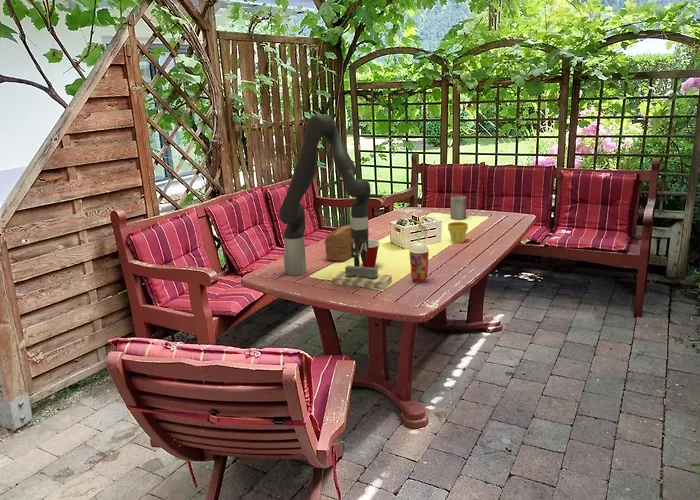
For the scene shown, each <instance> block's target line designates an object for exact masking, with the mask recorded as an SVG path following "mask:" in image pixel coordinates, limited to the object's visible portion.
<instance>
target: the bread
mask: <svg viewBox="0 0 700 500" xmlns="http://www.w3.org/2000/svg"><path fill="white" fill-rule="evenodd" d="M354 242H355V240H354V239H353V238H351V224H346V225H342V226H339V227H338V228H337V229H335V230H333V231H331V232H330V233H329V234H328V235H327V236H326V238H325V239H324V245H325V254H326V259H327V260H329V261H332V262H333V261H335V262H341V261H346V260H348V259H349V258H350V257H351V244H354ZM353 254H354V252H353ZM351 258H352V257H351Z"/></svg>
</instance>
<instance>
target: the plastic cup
mask: <svg viewBox="0 0 700 500" xmlns="http://www.w3.org/2000/svg"><path fill="white" fill-rule="evenodd" d="M380 244H381V243H380V241H378V240H376V239H369V238H368V245H369V249H368V250H367V252H366V253H367V260H366V261H362V260H361V264H362V267H372V268H373V267H374V268H376V264H377V259H378V258H377V257H378V250H379V246H380ZM360 256H361V253H360Z"/></svg>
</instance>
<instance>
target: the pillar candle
mask: <svg viewBox="0 0 700 500" xmlns="http://www.w3.org/2000/svg"><path fill="white" fill-rule="evenodd" d="M450 219H451V220H453V221H457V220H458V221H463V220H466V219H467V196H465V195H452V196H450Z"/></svg>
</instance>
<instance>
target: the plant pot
mask: <svg viewBox="0 0 700 500" xmlns="http://www.w3.org/2000/svg"><path fill="white" fill-rule="evenodd" d="M468 229H469V226H468V223H467V222H463V221H453V222H449V223H447V230H448V232H449V234H450V240H451V242H452V243H455V244H460V243H461V244H462V243H464V242H465V238H466V234H467V231H468Z"/></svg>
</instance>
